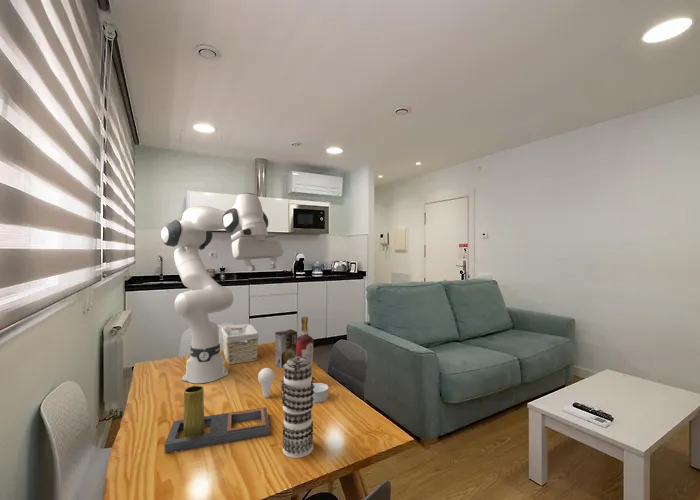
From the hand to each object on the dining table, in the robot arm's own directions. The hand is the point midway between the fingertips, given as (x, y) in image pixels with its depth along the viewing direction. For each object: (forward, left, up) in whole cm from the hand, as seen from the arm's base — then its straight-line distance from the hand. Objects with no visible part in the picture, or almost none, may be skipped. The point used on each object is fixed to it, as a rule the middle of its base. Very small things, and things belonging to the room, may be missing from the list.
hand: (263, 269), depth 119 cm
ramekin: (+3, +19, -49) cm, 53 cm away
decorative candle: (+32, +7, -49) cm, 59 cm away
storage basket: (-58, -9, -49) cm, 77 cm away
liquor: (-11, +17, -49) cm, 53 cm away
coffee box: (-38, +13, -49) cm, 64 cm away
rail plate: (+16, -14, -49) cm, 53 cm away
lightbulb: (-4, +1, -49) cm, 49 cm away
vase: (+16, -21, -49) cm, 56 cm away
